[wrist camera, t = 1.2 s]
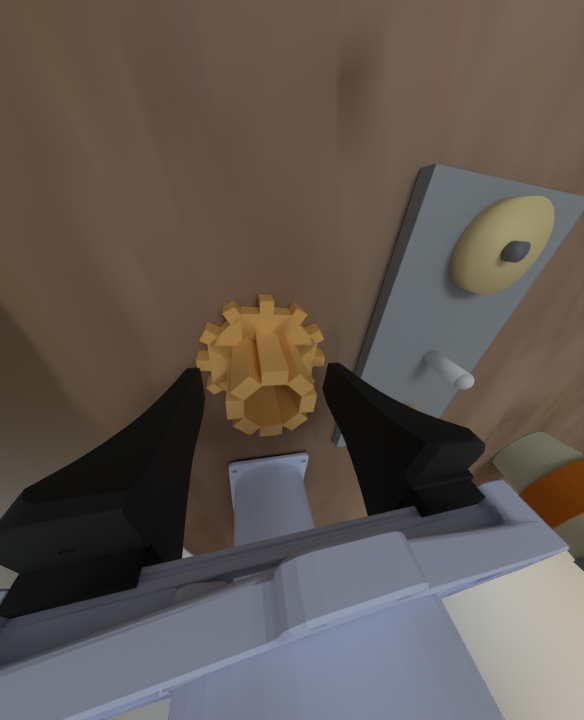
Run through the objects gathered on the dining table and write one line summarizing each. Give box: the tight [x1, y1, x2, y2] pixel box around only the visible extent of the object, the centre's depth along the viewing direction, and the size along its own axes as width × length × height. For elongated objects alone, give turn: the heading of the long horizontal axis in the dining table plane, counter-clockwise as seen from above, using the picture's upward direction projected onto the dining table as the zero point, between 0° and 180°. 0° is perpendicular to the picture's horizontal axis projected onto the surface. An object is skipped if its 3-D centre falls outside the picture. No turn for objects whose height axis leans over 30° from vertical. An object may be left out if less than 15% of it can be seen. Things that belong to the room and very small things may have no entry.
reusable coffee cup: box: [493, 432, 584, 571], centre depth 29 cm, size 13×13×15 cm
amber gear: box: [196, 294, 325, 437], centre depth 12 cm, size 8×8×5 cm
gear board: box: [333, 164, 584, 447], centre depth 16 cm, size 21×11×5 cm, turn 174°
